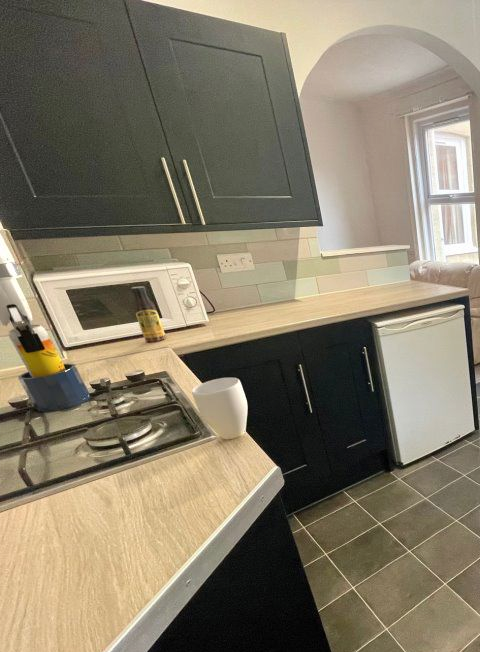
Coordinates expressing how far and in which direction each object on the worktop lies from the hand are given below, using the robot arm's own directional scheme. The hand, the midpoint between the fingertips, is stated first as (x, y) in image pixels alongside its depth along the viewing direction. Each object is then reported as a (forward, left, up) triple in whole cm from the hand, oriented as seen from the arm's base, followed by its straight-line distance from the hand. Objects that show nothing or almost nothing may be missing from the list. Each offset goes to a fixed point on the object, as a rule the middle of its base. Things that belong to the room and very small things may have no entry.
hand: (35, 347), depth 101 cm
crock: (0, 0, -15) cm, 15 cm away
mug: (+23, -53, -15) cm, 60 cm away
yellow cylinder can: (0, 0, -10) cm, 10 cm away
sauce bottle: (+28, +51, -15) cm, 60 cm away
